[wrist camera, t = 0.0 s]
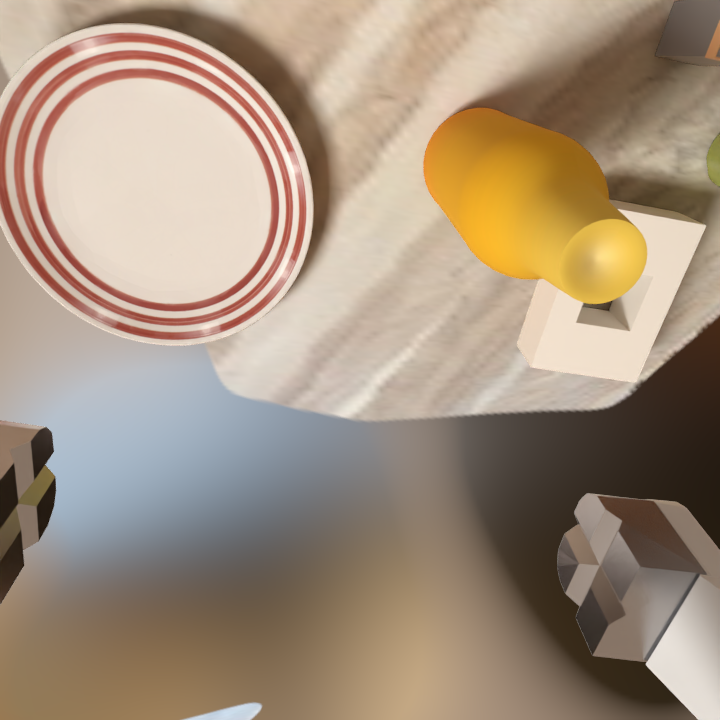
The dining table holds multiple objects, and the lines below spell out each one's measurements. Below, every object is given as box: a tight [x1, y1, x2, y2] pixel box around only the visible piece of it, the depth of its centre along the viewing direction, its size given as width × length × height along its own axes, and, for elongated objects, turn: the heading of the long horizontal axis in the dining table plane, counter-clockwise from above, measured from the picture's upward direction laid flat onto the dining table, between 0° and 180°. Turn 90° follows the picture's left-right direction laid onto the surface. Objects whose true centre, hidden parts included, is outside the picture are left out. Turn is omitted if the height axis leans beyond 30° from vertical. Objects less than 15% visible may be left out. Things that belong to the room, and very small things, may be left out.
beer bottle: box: [424, 108, 647, 304], centre depth 41 cm, size 9×9×29 cm
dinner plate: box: [0, 23, 314, 346], centre depth 53 cm, size 28×27×3 cm
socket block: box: [517, 199, 707, 383], centre depth 57 cm, size 16×11×5 cm
